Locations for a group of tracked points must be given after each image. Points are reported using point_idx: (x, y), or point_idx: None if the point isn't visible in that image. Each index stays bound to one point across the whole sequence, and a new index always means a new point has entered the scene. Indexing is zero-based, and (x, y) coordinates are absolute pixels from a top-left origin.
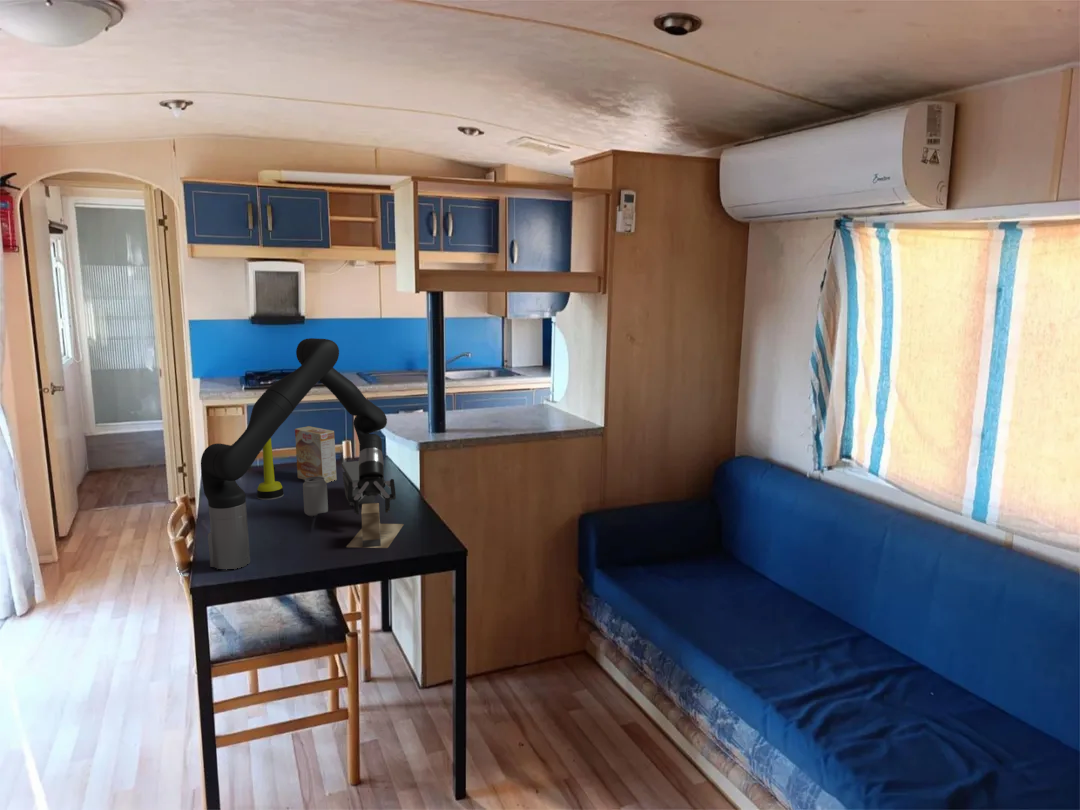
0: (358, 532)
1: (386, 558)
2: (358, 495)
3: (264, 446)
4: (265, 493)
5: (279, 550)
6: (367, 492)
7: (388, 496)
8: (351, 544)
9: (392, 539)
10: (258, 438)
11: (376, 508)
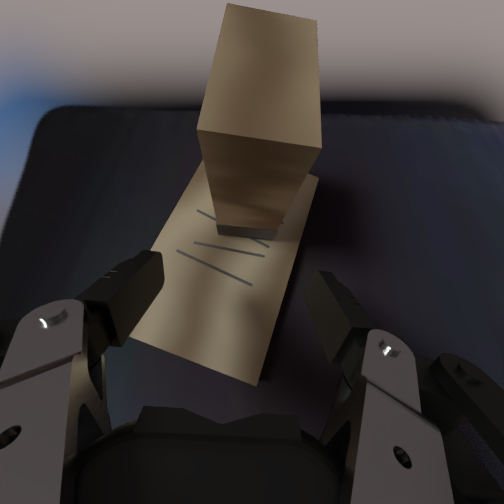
0: (286, 282)
1: None
2: (385, 379)
3: None
4: None
5: (475, 241)
6: (284, 427)
7: (44, 312)
8: (305, 189)
9: (189, 188)
10: None
11: (231, 47)
